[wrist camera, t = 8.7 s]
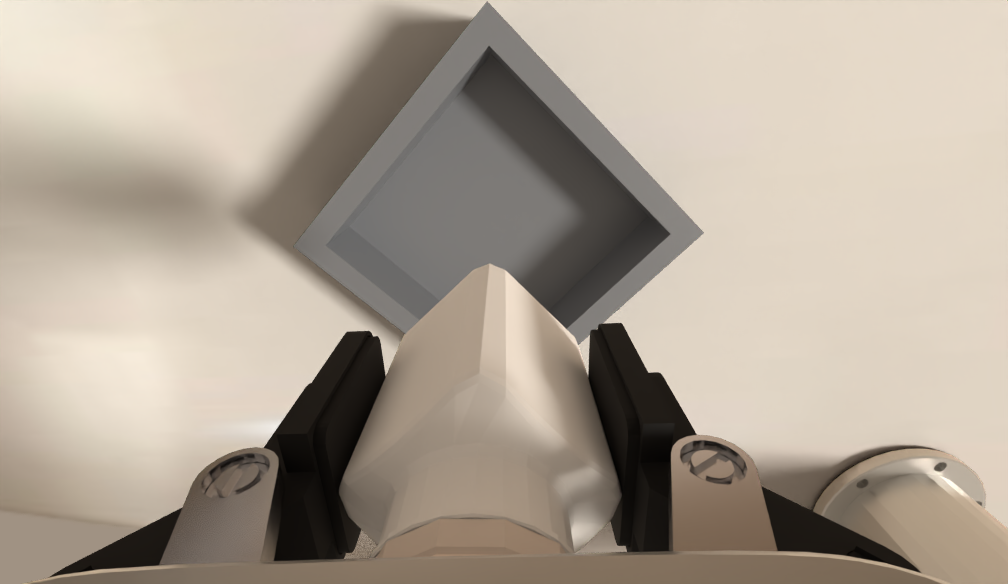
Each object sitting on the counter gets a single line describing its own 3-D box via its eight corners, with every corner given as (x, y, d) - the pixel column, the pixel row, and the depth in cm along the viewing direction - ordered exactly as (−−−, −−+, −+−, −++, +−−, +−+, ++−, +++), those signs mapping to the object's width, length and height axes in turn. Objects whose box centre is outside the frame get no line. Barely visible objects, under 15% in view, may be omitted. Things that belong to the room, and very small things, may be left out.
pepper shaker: (394, 338, 14) (200, 756, 5) (490, 248, 13) (457, 575, 4) (489, 418, 15) (468, 877, 6) (585, 340, 14) (727, 762, 5)
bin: (671, 211, 29) (703, 233, 24) (504, 367, 33) (504, 410, 28) (490, 20, 25) (487, 1, 20) (326, 223, 29) (292, 246, 24)
